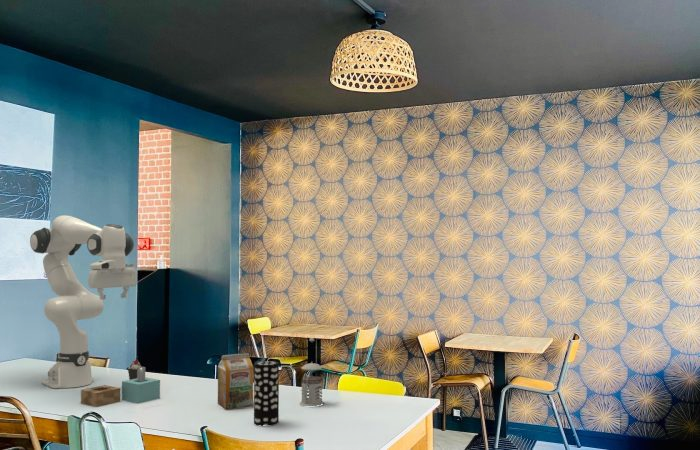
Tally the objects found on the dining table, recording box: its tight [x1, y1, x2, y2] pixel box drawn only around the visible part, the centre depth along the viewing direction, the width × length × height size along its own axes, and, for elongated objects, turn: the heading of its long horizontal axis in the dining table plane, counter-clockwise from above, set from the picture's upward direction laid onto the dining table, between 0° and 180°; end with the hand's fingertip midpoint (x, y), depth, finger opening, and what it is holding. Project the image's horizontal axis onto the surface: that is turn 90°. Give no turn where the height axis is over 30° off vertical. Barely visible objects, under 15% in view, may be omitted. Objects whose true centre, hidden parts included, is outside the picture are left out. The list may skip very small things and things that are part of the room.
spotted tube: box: [253, 360, 280, 427], centre depth 207 cm, size 8×8×20 cm
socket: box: [80, 384, 122, 408], centre depth 231 cm, size 10×10×6 cm
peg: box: [137, 366, 146, 382], centre depth 236 cm, size 3×3×12 cm
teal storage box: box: [121, 376, 161, 404], centre depth 236 cm, size 10×10×8 cm
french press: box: [298, 337, 325, 407], centre depth 232 cm, size 10×12×25 cm
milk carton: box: [217, 352, 254, 411], centre depth 231 cm, size 11×11×19 cm
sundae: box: [125, 356, 142, 380], centre depth 251 cm, size 7×7×15 cm
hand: (113, 298), depth 245 cm, fingers open, 8 cm apart
